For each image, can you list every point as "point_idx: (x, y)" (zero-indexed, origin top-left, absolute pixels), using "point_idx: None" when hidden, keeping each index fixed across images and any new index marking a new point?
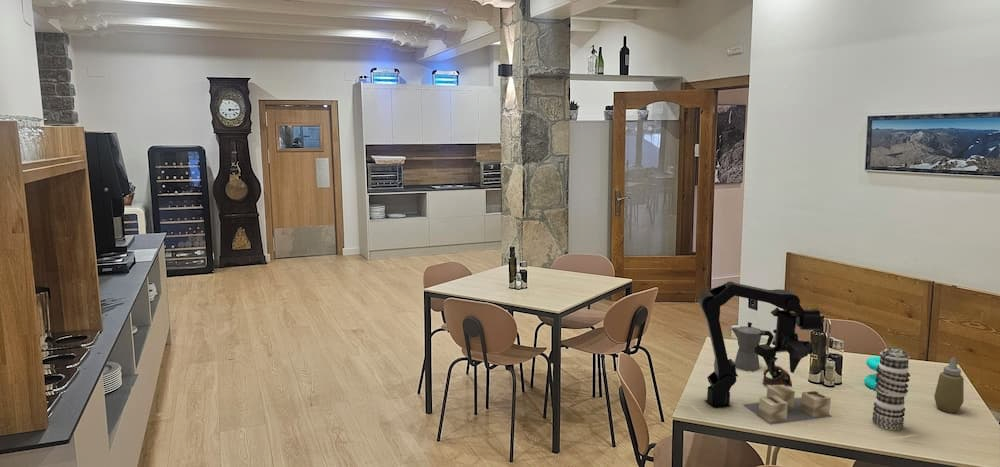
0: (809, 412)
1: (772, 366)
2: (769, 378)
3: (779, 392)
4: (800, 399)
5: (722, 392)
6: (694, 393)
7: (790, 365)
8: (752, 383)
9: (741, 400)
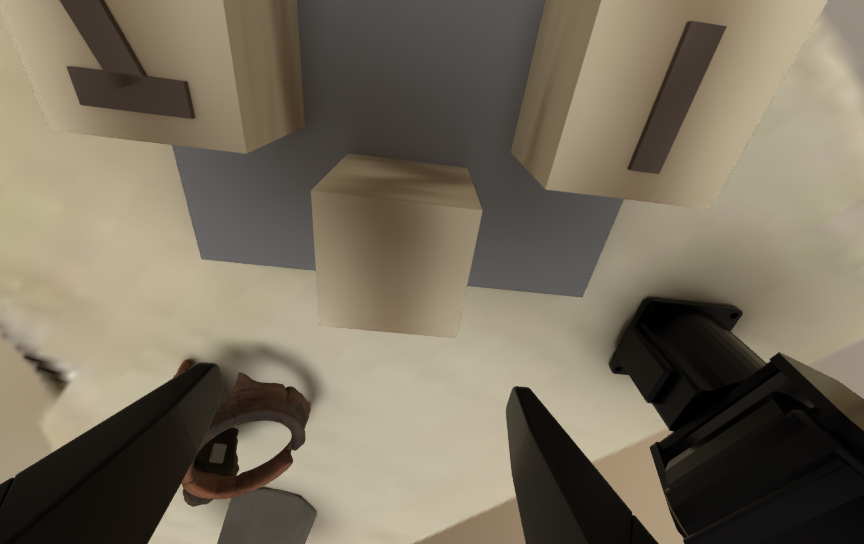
0: (291, 17)
1: (627, 526)
2: (291, 426)
3: (459, 227)
4: (221, 239)
5: (806, 365)
6: (639, 431)
7: (173, 480)
8: (345, 428)
9: (523, 337)
